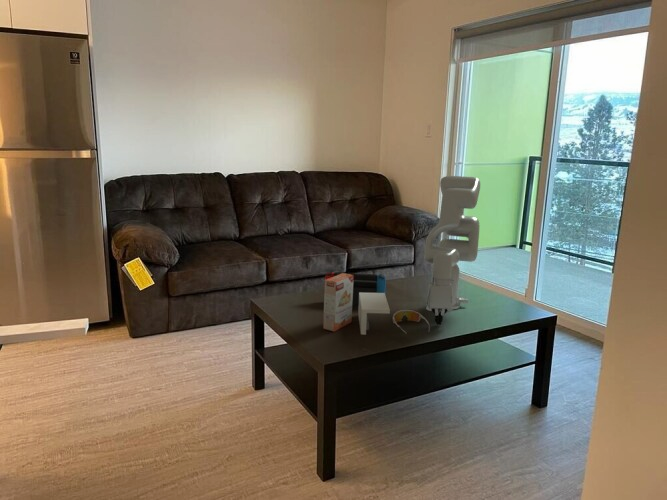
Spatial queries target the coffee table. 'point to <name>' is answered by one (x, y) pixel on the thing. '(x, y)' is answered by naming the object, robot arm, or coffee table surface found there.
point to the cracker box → (338, 301)
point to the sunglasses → (407, 317)
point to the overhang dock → (371, 308)
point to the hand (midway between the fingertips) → (438, 323)
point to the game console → (364, 284)
